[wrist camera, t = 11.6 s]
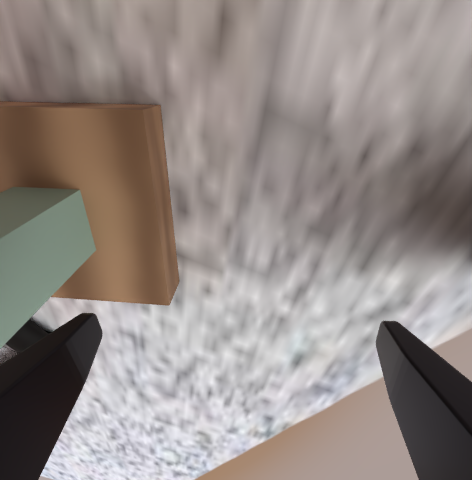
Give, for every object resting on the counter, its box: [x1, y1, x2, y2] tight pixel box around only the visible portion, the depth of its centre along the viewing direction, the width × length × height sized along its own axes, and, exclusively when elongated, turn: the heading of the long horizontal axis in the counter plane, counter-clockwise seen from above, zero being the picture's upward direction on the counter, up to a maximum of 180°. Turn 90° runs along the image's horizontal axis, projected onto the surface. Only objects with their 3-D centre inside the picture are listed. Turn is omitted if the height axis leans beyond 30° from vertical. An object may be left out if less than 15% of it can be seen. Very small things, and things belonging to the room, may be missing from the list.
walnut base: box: [0, 101, 179, 305], centre depth 21 cm, size 14×14×3 cm
